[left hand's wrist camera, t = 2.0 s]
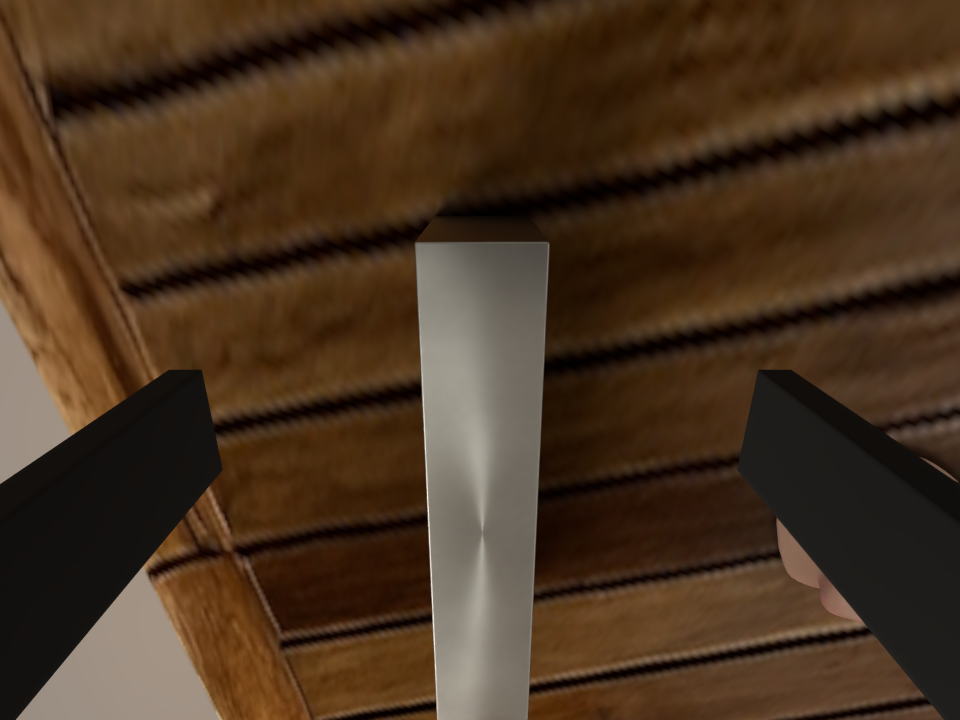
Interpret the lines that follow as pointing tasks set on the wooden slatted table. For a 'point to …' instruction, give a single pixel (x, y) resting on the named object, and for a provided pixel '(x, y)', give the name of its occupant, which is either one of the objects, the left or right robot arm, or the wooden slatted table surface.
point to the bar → (482, 453)
